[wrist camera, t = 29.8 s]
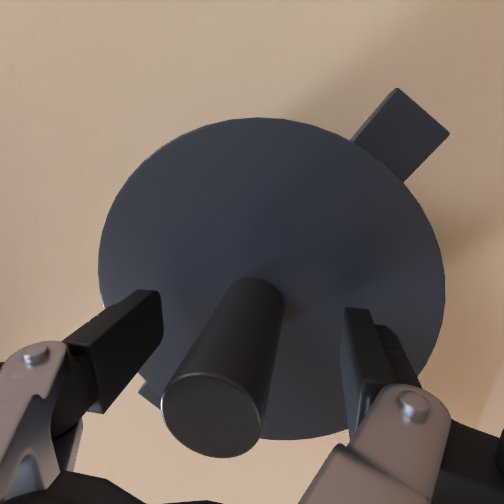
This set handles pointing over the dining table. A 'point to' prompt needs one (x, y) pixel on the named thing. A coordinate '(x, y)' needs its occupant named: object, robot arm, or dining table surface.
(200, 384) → the pot lid
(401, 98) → the pot
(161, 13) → the dining table surface
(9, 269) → the dining table surface
